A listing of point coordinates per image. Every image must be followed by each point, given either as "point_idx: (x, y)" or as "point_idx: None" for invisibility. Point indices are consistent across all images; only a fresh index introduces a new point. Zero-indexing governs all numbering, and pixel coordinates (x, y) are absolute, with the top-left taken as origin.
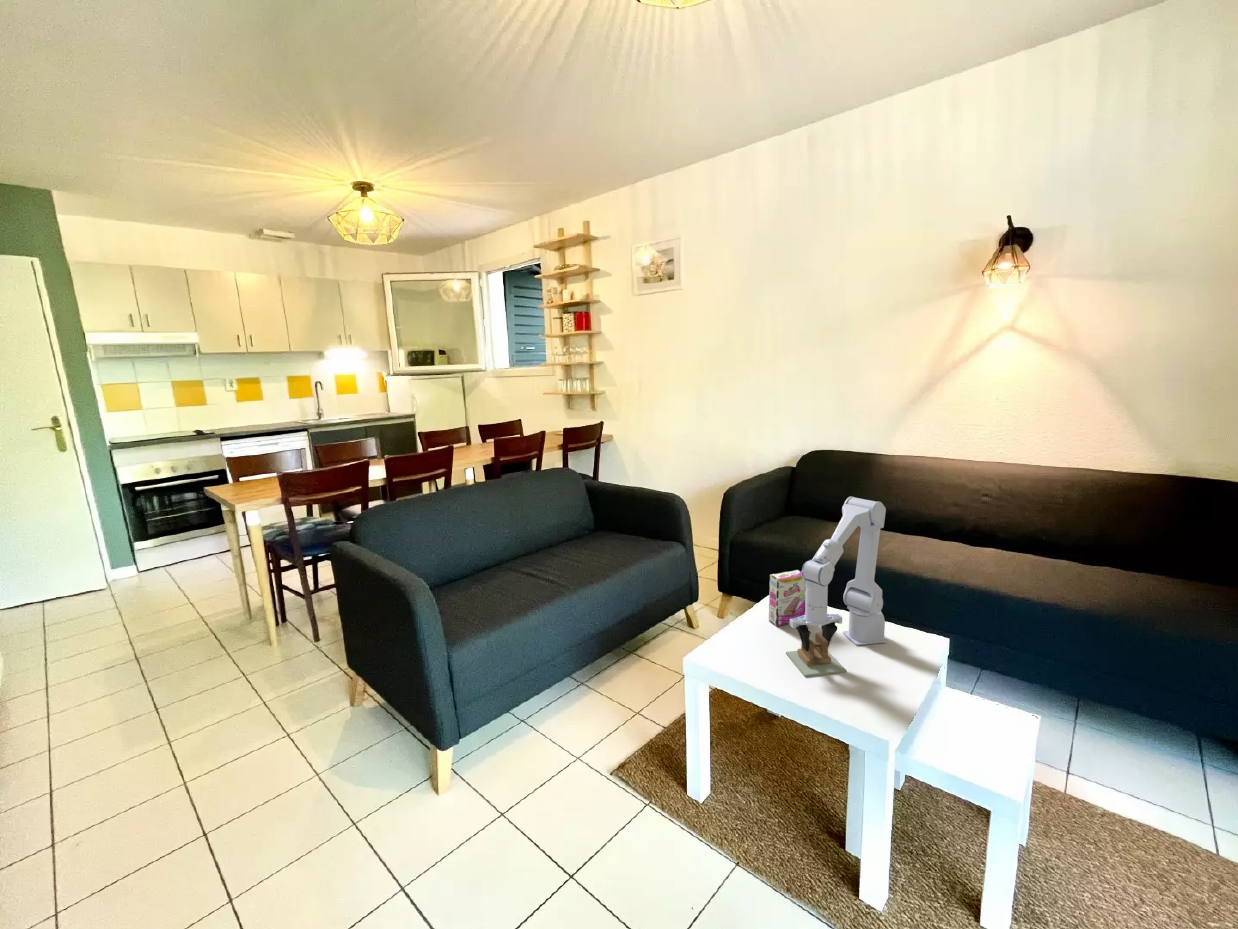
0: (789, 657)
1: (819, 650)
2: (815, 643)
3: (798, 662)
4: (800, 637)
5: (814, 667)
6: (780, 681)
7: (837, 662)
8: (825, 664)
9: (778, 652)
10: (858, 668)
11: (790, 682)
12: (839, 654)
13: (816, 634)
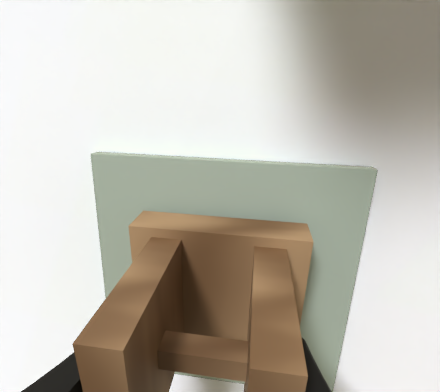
0: (99, 205)
1: (248, 327)
2: (211, 365)
3: (123, 273)
4: (40, 382)
5: None
6: (10, 348)
7: (335, 333)
8: None
9: (60, 123)
10: (416, 380)
11: (48, 365)
12: (426, 242)
13: (248, 383)
